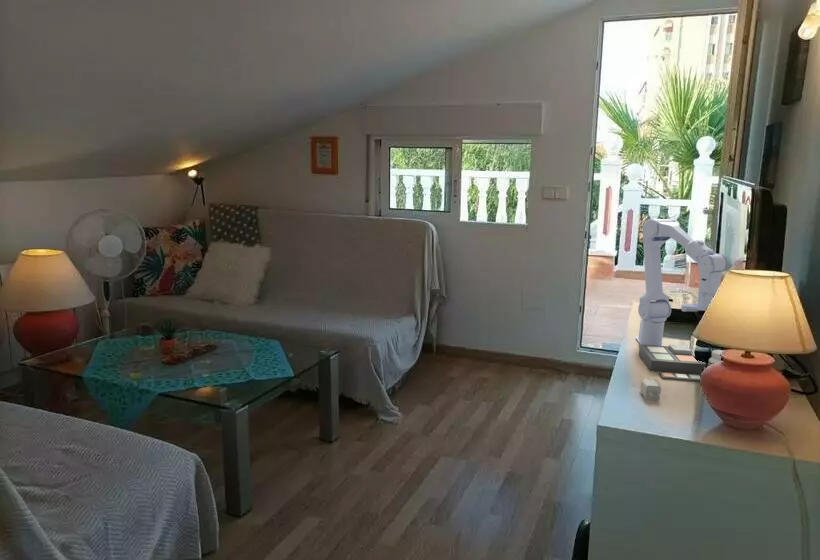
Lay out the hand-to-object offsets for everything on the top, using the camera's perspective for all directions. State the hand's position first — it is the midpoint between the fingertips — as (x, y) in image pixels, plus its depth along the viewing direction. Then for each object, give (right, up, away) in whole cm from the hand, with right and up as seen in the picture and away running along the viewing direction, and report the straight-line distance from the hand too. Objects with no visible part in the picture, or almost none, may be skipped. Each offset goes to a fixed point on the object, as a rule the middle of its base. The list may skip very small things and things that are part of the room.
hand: (703, 334), depth 194 cm
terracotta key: (-6, -10, -2) cm, 12 cm away
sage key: (-13, -10, -1) cm, 17 cm away
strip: (-11, -12, -9) cm, 19 cm away
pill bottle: (-2, -14, -13) cm, 19 cm away
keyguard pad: (-9, -10, +2) cm, 14 cm away
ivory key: (-12, -8, +6) cm, 16 cm away
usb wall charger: (-26, -16, -25) cm, 39 cm away
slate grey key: (-5, -8, +5) cm, 11 cm away
